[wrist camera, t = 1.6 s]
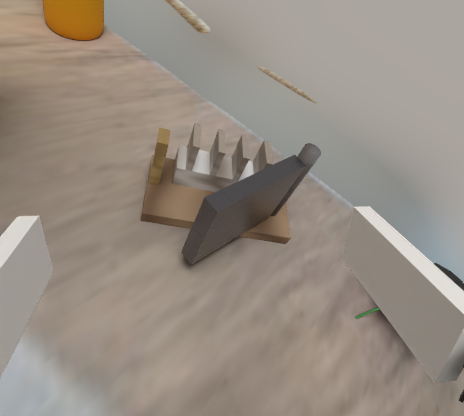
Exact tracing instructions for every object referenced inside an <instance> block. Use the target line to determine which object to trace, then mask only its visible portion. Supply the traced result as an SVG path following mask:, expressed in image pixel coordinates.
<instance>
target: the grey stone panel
mask: <svg viewBox="0 0 464 416" xmlns="http://www.w3.org/2000/svg"><path fill="white" fill-rule="evenodd" d="M305 167H306V165H305V164H304V163H303V162H302V161H301V160H300V159H299V158H298V157H296V155H293V156H291V157H289V158H287V159H285V160H282V161H280V162H278V163H276V164H274V165H272V166H270V167H268V168H265V169H263V170H261V171H259V172H257V173H255V174H253V175H251V176H249V177H246V178H244V179H242V180H240V181H238V182H236V183H234V184H232V185H229V186H227V187H225V188H223V189H221V190H219V191H217V192H215V193H212V194H210V195H208V196H206V197H204V199H203V202H202V204H201V207H200V209H199V211H198V214H197V216H196V219H195V221H194V223H193V226H192V228H191V231H190V233H189V235H188V238H187V240H186V242H185V245H184V247H183V250H182V252H181V253H182V254H183V255H184V257H185V258H186V259H187V260H188V262H189V263H190V264H191V265H192V264H194V263H195V262H197V261H199V260H200V259H202V258H204V257H205V256H207V255H208V254H210V253H212V252H213V251H215V250H217V249H218V248H220V247H222V246H223V245H225V244H226V243H228V242H230V241H231V240H233V239H235V238H236V237H238V236H240V235H241V234H243V233H244V232H246V231H248V230H249V229H251V228H253V227H254V226H256V225H257V224H259V223H261V222H262V221H264V220H266V219H267V218H269V217H270V215H271V214H272V213H273V211H274V210H275V208H276V207H277V206H278V204H279V203H280V202H281V200H282V199H283V197H284V196H285V195H286V193H287V192H288V190H289V189H290V188H291V186H292V185H293V183H294V182H295V181H296V179H297V178H298V177H299V175H300V174H301V172H302V171H303V170H304V168H305Z"/></svg>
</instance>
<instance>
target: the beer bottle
mask: <svg viewBox="0 0 464 416" xmlns="http://www.w3.org/2000/svg"><path fill="white" fill-rule="evenodd" d="M43 8H44V16H45V20H46V22H47V24H48V26H49V27H50V28H51V29H52V30H53V31H54V32H56V33H57V34H59V35H61V36H64V37H67V38H70V39H75V40H92V39H95V38H97V37H99V36H100V35H101V33H102V31H103V25H104V10H103V9H104V0H43Z"/></svg>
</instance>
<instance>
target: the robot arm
mask: <svg viewBox="0 0 464 416" xmlns="http://www.w3.org/2000/svg"><path fill="white" fill-rule="evenodd" d="M341 257H342V258H343V260H344V261H345V262H346V264H347V265H348V267H349V268H350V269H351V271H352V272H353V273H354V275H355V276H356V277H357V279H358V280H359V281H360V283H361V284H362V285H363V287H364V288H365V290H366V291H367V292H368V294H369V295H370V296H371V298H372V299H373V300H374V302H375V303H376V304H377V306H378V307H379V308H380V310H381V311H382V313H383V314H384V315H385V317H386V318H387V319H388V321H389V322H390V323H391V325H392V326H393V327H394V329H395V330H396V331H397V333H398V334H399V335H400V337H401V338H402V340H403V341H404V342H405V344H406V345H407V346H408V348H409V349H410V350H411V352H412V353H413V354H414V356H415V357H416V358H417V360H418V361H419V363H420V364H421V365H422V367H423V368H424V369H425V371H426V372H427V373H428V375H429V376H430V377H431V379H432V380H433V381H434V383H439V382H447V381H455V380H457V378H458V376H459V375H460V373H461V371H462V369H463V368H464V284H463V283H462V281H461V280H460V279H459V278H458V277H457V276H456V275H454V274H453V273H452V272H451V271H449V270H447V269H446V268H444V267H442V266H440V265H438V264H437V263H432V262H431V261H430V260H429V259H427V258H426V257H425V256H424V255H423V254H422V253H421V252H420V251H418V250H417V249H416V248H415V247H414V246H413V245H412V244H411V243H410V242H409V241H407V240H406V239H405V238H404V237H403V236H402V235H401V234H400V233H399V232H397V231H396V230H395V229H394V228H393V227H392V226H391V225H390V224H388V223H387V222H386V221H385V220H384V219H383V218H382V217H381V216H380V215H378V214H377V213H376V212H375V211H374V210H373V209H372V208H371V207H370V206H367V207H354V208H353V212H352V216H351V220H350V224H349V228H348V232H347V236H346V240H345V244H344V248H343V252H342V256H341ZM52 274H53V268H52V264H51V260H50V256H49V252H48V248H47V244H46V240H45V236H44V232H43V228H42V224H41V221H40V217H39V216H17V218H16V219H15V220H14V221H13V222H12V223H11V225H10V226H9V227H8V228H7V229H6V231H5V232H4V233H3V234H2V235H1V236H0V378H1V376H2V374H3V372H4V370H5V368H6V366H7V364H8V362H9V360H10V358H11V356H12V354H13V352H14V350H15V348H16V346H17V344H18V342H19V340H20V338H21V336H22V334H23V332H24V330H25V328H26V326H27V324H28V322H29V320H30V318H31V316H32V314H33V312H34V310H35V308H36V306H37V304H38V302H39V300H40V298H41V296H42V294H43V292H44V290H45V288H46V286H47V284H48V282H49V280H50V278H51V276H52ZM459 401H460V402H464V390H463V392H462V394H461V395H460V398H459Z"/></svg>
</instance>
